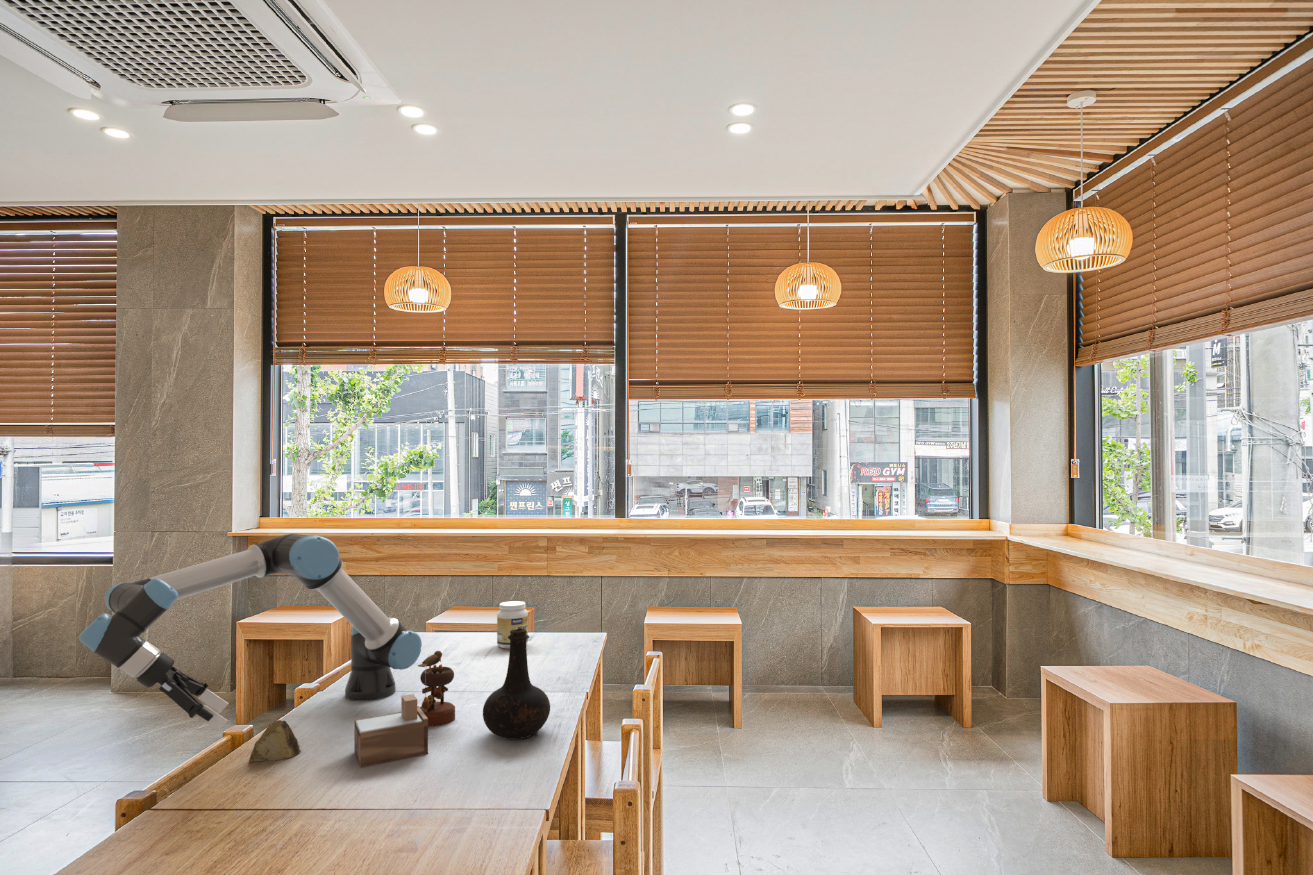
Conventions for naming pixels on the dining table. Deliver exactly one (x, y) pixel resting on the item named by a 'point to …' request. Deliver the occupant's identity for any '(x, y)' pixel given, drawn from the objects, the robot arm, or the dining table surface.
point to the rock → (275, 743)
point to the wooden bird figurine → (436, 691)
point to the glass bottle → (516, 697)
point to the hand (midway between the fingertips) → (223, 716)
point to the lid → (393, 716)
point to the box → (391, 742)
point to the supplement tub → (510, 621)
